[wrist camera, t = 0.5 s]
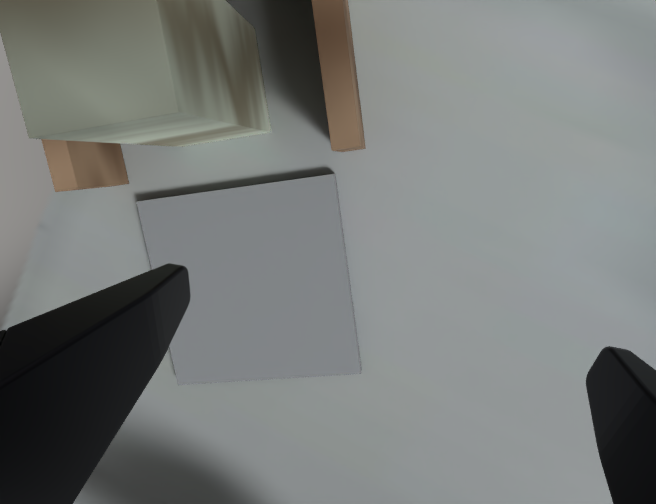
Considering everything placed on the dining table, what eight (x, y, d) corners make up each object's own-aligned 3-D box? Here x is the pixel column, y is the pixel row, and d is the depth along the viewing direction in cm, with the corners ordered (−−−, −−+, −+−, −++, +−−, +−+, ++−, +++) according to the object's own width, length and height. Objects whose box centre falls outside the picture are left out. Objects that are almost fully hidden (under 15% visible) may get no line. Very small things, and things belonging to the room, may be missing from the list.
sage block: (271, 132, 22) (178, 111, 12) (182, 146, 23) (29, 138, 13) (254, 28, 21) (139, -83, 11) (161, 47, 22) (-20, -42, 12)
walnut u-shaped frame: (365, 148, 21) (354, 143, 15) (109, 186, 24) (-2, 197, 17) (341, -55, 20) (316, -167, 13) (67, 8, 22) (-76, -59, 15)
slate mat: (361, 369, 24) (361, 373, 23) (181, 380, 26) (178, 384, 25) (335, 173, 22) (333, 173, 21) (141, 200, 24) (136, 201, 23)
